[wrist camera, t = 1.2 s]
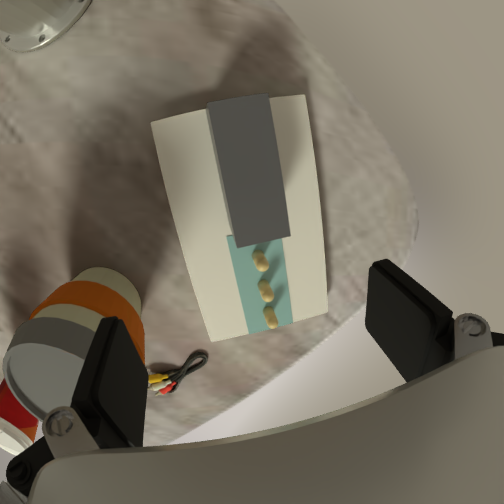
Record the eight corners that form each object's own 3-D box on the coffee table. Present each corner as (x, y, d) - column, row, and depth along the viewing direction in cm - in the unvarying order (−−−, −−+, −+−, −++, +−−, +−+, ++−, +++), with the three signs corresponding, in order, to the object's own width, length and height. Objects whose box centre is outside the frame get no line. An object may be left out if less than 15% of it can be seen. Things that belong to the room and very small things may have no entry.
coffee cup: (30, 382, 34) (2, 453, 20) (6, 343, 30) (-34, 415, 17) (69, 384, 35) (45, 464, 21) (45, 343, 31) (6, 426, 18)
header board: (153, 123, 25) (144, 120, 20) (297, 96, 26) (316, 90, 21) (210, 331, 34) (213, 359, 30) (321, 303, 36) (337, 326, 31)
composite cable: (201, 346, 36) (202, 359, 33) (219, 369, 38) (221, 382, 35) (140, 371, 36) (138, 384, 34) (160, 391, 38) (159, 404, 36)
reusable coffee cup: (40, 282, 28) (-21, 364, 15) (115, 230, 28) (57, 313, 14) (101, 355, 33) (76, 449, 20) (177, 320, 33) (174, 427, 19)
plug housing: (205, 109, 23) (207, 102, 18) (252, 101, 24) (268, 92, 18) (229, 224, 28) (237, 248, 22) (272, 214, 28) (290, 236, 23)
